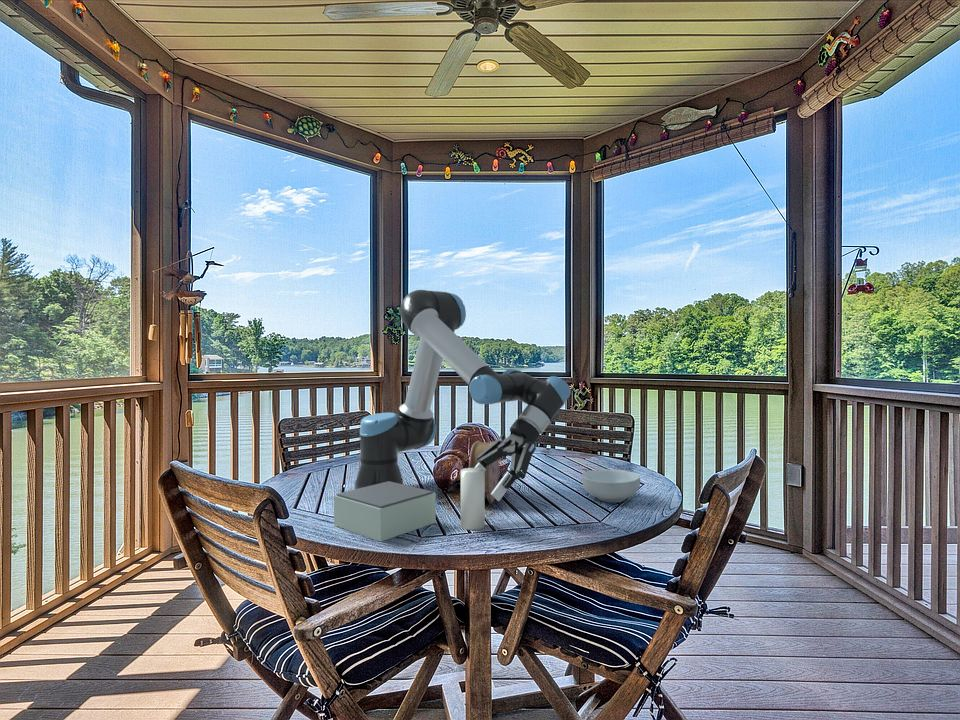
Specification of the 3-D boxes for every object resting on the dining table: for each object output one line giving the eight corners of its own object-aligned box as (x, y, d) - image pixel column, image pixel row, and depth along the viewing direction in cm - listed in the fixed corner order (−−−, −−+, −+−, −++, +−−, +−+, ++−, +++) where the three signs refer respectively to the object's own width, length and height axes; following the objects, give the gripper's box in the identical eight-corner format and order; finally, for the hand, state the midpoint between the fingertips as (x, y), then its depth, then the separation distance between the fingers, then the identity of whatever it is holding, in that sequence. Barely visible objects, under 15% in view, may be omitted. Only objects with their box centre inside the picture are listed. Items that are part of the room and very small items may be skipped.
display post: (455, 526, 137) (455, 470, 137) (471, 520, 142) (471, 466, 142) (473, 531, 133) (473, 474, 133) (489, 525, 138) (489, 470, 138)
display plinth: (334, 525, 138) (333, 493, 138) (389, 509, 152) (389, 480, 152) (380, 541, 127) (380, 507, 126) (435, 522, 140) (435, 491, 140)
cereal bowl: (593, 488, 174) (593, 466, 174) (646, 496, 165) (646, 472, 165) (573, 501, 159) (573, 477, 159) (630, 510, 151) (631, 484, 151)
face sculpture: (492, 508, 153) (492, 448, 153) (468, 507, 154) (467, 447, 154) (500, 489, 173) (500, 437, 172) (479, 489, 174) (479, 436, 174)
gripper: (567, 442, 135) (517, 512, 128) (511, 429, 157) (465, 489, 150) (550, 422, 133) (498, 493, 125) (495, 412, 154) (448, 472, 147)
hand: (480, 491), depth 138 cm, fingers open, 13 cm apart
